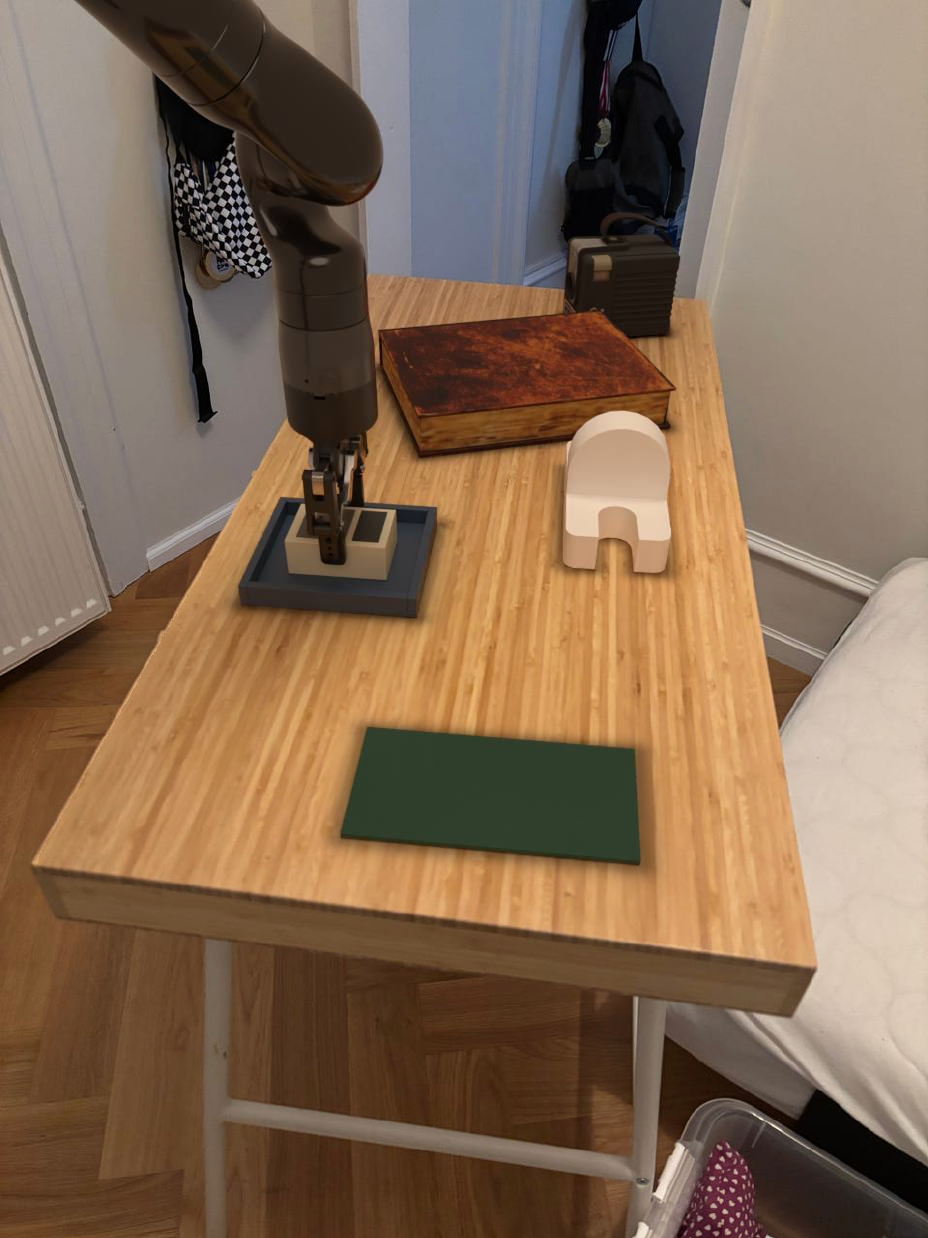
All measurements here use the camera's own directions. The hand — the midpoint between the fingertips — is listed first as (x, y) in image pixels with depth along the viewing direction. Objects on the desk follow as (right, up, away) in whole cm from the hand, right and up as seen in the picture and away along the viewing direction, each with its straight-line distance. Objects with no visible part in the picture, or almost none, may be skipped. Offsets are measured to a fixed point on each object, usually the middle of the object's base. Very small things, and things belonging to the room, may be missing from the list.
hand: (343, 534), depth 86 cm
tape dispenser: (+26, +2, +8) cm, 27 cm away
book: (+18, +19, +29) cm, 39 cm away
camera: (+32, +34, +47) cm, 66 cm away
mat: (+13, -20, -19) cm, 31 cm away
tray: (0, -2, +2) cm, 3 cm away
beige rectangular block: (0, -2, +1) cm, 2 cm away
